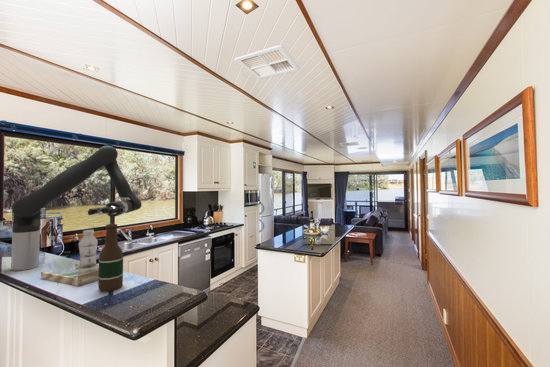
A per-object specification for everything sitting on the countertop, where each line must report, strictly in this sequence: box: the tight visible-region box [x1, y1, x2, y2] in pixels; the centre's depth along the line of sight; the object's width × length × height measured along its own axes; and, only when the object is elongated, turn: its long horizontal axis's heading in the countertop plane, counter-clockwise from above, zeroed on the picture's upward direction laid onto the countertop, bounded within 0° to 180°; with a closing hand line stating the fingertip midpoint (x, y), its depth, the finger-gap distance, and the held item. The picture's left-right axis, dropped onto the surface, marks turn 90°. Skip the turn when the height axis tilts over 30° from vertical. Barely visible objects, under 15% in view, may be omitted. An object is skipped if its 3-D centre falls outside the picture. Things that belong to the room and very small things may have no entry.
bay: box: [40, 262, 99, 287], centre depth 106 cm, size 24×14×4 cm, turn 70°
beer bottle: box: [97, 223, 124, 293], centre depth 94 cm, size 8×8×24 cm
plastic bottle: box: [78, 229, 99, 275], centre depth 104 cm, size 6×7×20 cm
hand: (99, 212), depth 114 cm, fingers open, 8 cm apart
